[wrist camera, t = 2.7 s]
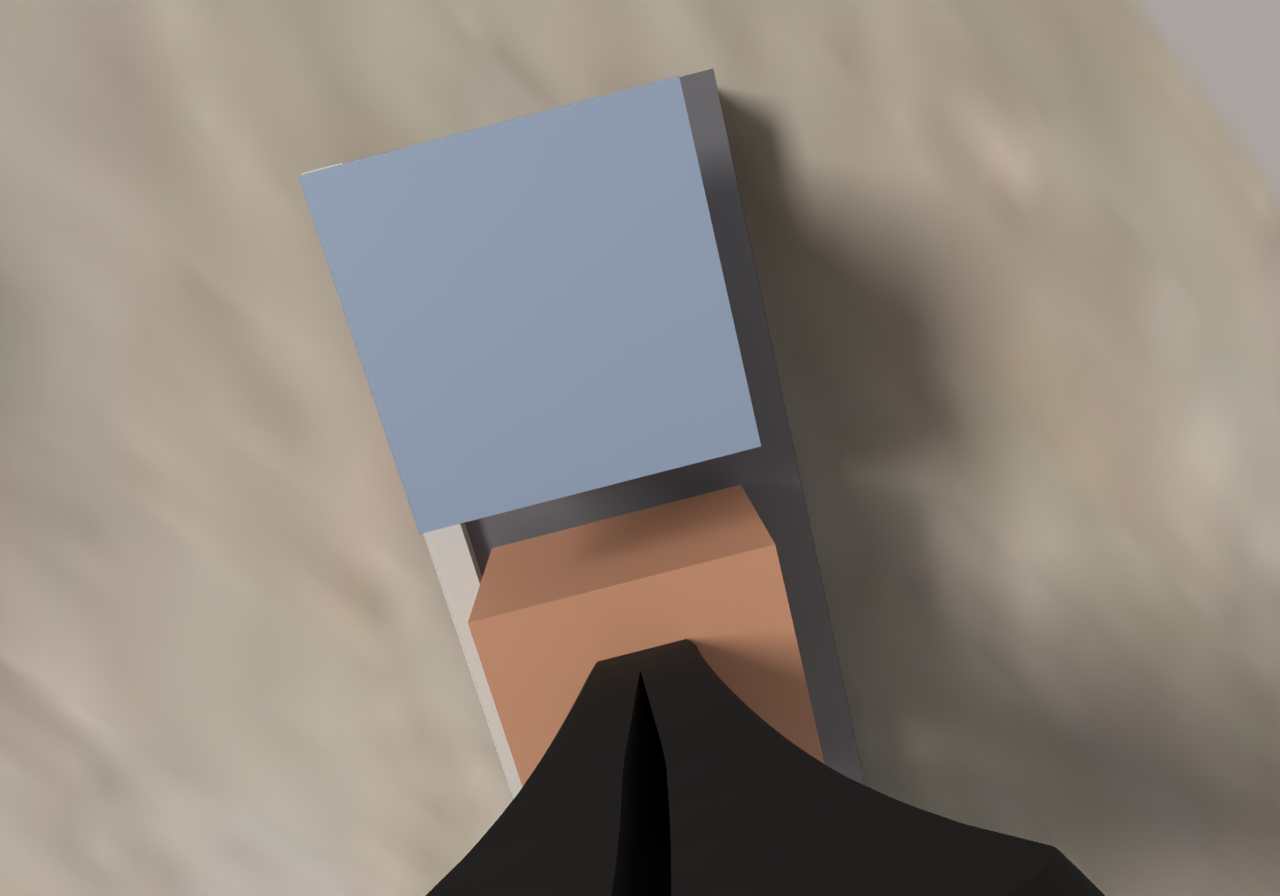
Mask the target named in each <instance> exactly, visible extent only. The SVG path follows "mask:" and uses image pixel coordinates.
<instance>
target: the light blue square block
mask: <svg viewBox="0 0 1280 896" xmlns="http://www.w3.org/2000/svg"><path fill="white" fill-rule="evenodd" d="M298 178H299V181H300V184H301V187H302V190H303V192H304V195H305V198H306V201H307V204H308V207H309V210H310V213H311V216H312V219H313V222H314V225H315V228H316V231H317V234H318V237H319V240H320V242H321V245H322V248H323V251H324V254H325V257H326V260H327V263H328V266H329V269H330V272H331V275H332V278H333V281H334V284H335V287H336V290H337V292H338V295H339V298H340V301H341V304H342V307H343V310H344V313H345V316H346V319H347V322H348V325H349V328H350V331H351V334H352V337H353V340H354V343H355V345H356V348H357V351H358V354H359V357H360V360H361V363H362V366H363V369H364V372H365V375H366V378H367V381H368V384H369V387H370V390H371V393H372V395H373V398H374V401H375V404H376V407H377V410H378V413H379V416H380V419H381V422H382V425H383V428H384V431H385V434H386V437H387V440H388V443H389V446H390V448H391V451H392V454H393V457H394V460H395V463H396V466H397V469H398V472H399V475H400V478H401V481H402V484H403V487H404V490H405V493H406V496H407V498H408V501H409V504H410V507H411V510H412V513H413V516H414V519H415V522H416V525H417V528H418V531H419V534H422V533H426V532H430V531H434V530H437V529H441V528H445V527H449V526H453V525H457V524H461V523H465V522H469V521H472V520H476V519H480V518H484V517H488V516H492V515H496V514H500V513H504V512H508V511H511V510H515V509H519V508H523V507H527V506H531V505H535V504H539V503H543V502H546V501H550V500H554V499H558V498H562V497H566V496H570V495H574V494H578V493H582V492H585V491H589V490H593V489H597V488H601V487H605V486H609V485H613V484H617V483H620V482H624V481H628V480H632V479H636V478H640V477H644V476H648V475H652V474H656V473H659V472H663V471H667V470H671V469H675V468H679V467H683V466H687V465H691V464H694V463H698V462H702V461H706V460H710V459H714V458H718V457H722V456H726V455H730V454H733V453H737V452H741V451H745V450H749V449H753V448H757V447H761V443H760V439H759V434H758V430H757V425H756V421H755V416H754V412H753V407H752V402H751V398H750V393H749V389H748V384H747V380H746V375H745V371H744V366H743V362H742V357H741V353H740V348H739V344H738V339H737V335H736V330H735V326H734V321H733V317H732V312H731V308H730V303H729V299H728V294H727V290H726V285H725V281H724V276H723V272H722V267H721V263H720V258H719V254H718V249H717V245H716V240H715V236H714V231H713V227H712V222H711V218H710V213H709V209H708V204H707V200H706V195H705V191H704V186H703V182H702V177H701V173H700V168H699V163H698V159H697V154H696V150H695V145H694V141H693V136H692V132H691V127H690V123H689V118H688V114H687V109H686V105H685V100H684V96H683V91H682V87H681V82H680V78H679V76H676V77H672V78H668V79H665V80H661V81H657V82H653V83H649V84H646V85H642V86H638V87H634V88H630V89H627V90H623V91H619V92H615V93H611V94H607V95H604V96H600V97H596V98H592V99H588V100H585V101H581V102H577V103H573V104H569V105H566V106H562V107H558V108H554V109H550V110H547V111H543V112H539V113H535V114H531V115H527V116H524V117H520V118H516V119H512V120H508V121H505V122H501V123H497V124H493V125H489V126H486V127H482V128H478V129H474V130H470V131H466V132H463V133H459V134H455V135H451V136H447V137H444V138H440V139H436V140H432V141H428V142H425V143H421V144H417V145H413V146H409V147H405V148H402V149H398V150H394V151H390V152H386V153H383V154H379V155H375V156H371V157H367V158H364V159H360V160H356V161H352V162H348V163H345V164H341V165H337V166H333V167H329V168H325V169H322V170H318V171H314V172H310V173H306V174H303V175H299V176H298Z"/></svg>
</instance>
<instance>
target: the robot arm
mask: <svg viewBox="0 0 1280 896" xmlns="http://www.w3.org/2000/svg"><path fill="white" fill-rule="evenodd" d="M426 896H1105V895H1104V894H1103V893H1102V892H1101V891H1100V890H1099V889H1098V888H1097V887H1096V886H1095V885H1094V884H1093V883H1092V882H1091V881H1090V880H1089V879H1088V878H1087V877H1086V876H1085V875H1084V874H1083V873H1082V872H1081V871H1080V870H1079V869H1078V868H1077V867H1076V866H1075V865H1074V864H1073V863H1072V862H1071V861H1070V860H1068V859H1067V858H1066V857H1065V856H1064V855H1063V854H1062V853H1061V852H1060V851H1059V850H1058V849H1057V848H1055V847H1053V846H1050V845H1046V844H1042V843H1038V842H1034V841H1030V840H1026V839H1021V838H1017V837H1013V836H1009V835H1005V834H1001V833H997V832H993V831H989V830H985V829H981V828H977V827H973V826H969V825H966V824H962V823H959V822H956V821H953V820H950V819H947V818H944V817H942V816H939V815H936V814H933V813H930V812H927V811H924V810H921V809H918V808H916V807H913V806H910V805H908V804H905V803H903V802H900V801H898V800H895V799H893V798H891V797H888V796H886V795H884V794H882V793H880V792H878V791H875V790H873V789H871V788H869V787H867V786H865V785H863V784H861V783H858V782H856V781H854V780H852V779H850V778H848V777H846V776H844V775H843V774H841V773H839V772H837V771H835V770H834V769H832V768H830V767H829V766H827V765H825V764H824V763H822V762H821V761H819V760H817V759H816V758H814V757H813V756H811V755H810V754H808V753H806V752H805V751H804V750H802V749H801V748H799V747H798V746H796V745H795V744H794V743H792V742H791V741H790V740H788V739H787V738H785V737H784V736H783V735H782V734H780V733H779V732H778V731H777V730H775V729H774V728H773V727H772V726H770V725H769V724H768V723H767V722H765V721H764V720H763V719H762V718H761V717H759V716H758V715H757V714H756V713H755V712H754V711H753V710H751V709H750V708H749V707H748V706H747V705H746V704H745V703H744V702H743V701H742V700H741V699H740V698H739V697H738V696H737V695H736V694H735V693H734V692H733V691H732V690H731V689H730V688H729V687H728V686H727V685H726V684H725V683H724V682H723V681H722V680H721V679H720V678H719V677H718V675H717V674H716V673H715V672H714V671H713V670H712V668H711V667H710V666H709V665H708V663H707V662H706V661H705V659H704V658H703V657H702V655H701V653H700V652H699V650H698V648H697V646H696V644H694V643H692V642H691V641H689V640H687V639H684V640H680V641H676V642H672V643H668V644H664V645H660V646H657V647H653V648H649V649H645V650H641V651H637V652H633V653H629V654H625V655H621V656H617V657H614V658H610V659H606V660H602V661H598V662H597V663H596V664H595V666H594V667H593V669H592V671H591V672H590V674H589V676H588V678H587V680H586V682H585V683H584V685H583V687H582V689H581V691H580V693H579V695H578V697H577V699H576V701H575V702H574V704H573V706H572V708H571V710H570V712H569V713H568V715H567V717H566V719H565V721H564V722H563V724H562V726H561V727H560V729H559V731H558V732H557V734H556V736H555V738H554V739H553V741H552V743H551V744H550V746H549V748H548V749H547V751H546V753H545V754H544V756H543V757H542V759H541V761H540V762H539V763H538V765H537V766H536V768H535V769H534V771H533V772H532V774H531V775H530V777H529V778H528V780H527V781H526V783H525V784H524V786H523V787H522V789H521V790H520V791H519V793H518V794H517V795H516V797H515V798H514V799H513V801H512V802H511V803H510V805H509V806H508V807H507V808H506V810H505V811H504V812H503V814H502V815H501V816H500V817H499V819H498V820H497V821H496V822H495V823H494V824H493V826H492V827H491V828H490V829H489V830H488V831H487V833H486V834H485V835H484V836H483V837H482V838H481V840H480V841H479V842H478V843H477V844H476V845H475V846H474V848H473V849H472V850H471V851H470V852H469V853H468V854H467V855H466V856H465V857H464V858H463V859H462V860H461V861H460V862H459V863H458V864H457V865H456V866H455V867H454V868H453V869H452V870H451V871H450V872H449V873H448V874H447V875H446V876H445V877H444V878H443V879H442V880H441V881H440V882H439V883H438V884H437V885H436V886H435V887H434V888H433V889H432V890H431V891H430V892H429V893H428V894H427V895H426Z"/></svg>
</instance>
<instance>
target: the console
mask: <svg viewBox="0 0 1280 896" xmlns="http://www.w3.org/2000/svg"><path fill="white" fill-rule="evenodd" d="M679 78H680V82H681V87H682V91H683V96H684V100H685V105H686V109H687V114H688V118H689V123H690V127H691V132H692V136H693V141H694V145H695V150H696V154H697V159H698V163H699V168H700V173H701V177H702V182H703V186H704V191H705V195H706V200H707V204H708V209H709V213H710V218H711V222H712V227H713V231H714V236H715V240H716V245H717V249H718V254H719V258H720V263H721V267H722V272H723V276H724V281H725V285H726V290H727V294H728V299H729V303H730V308H731V312H732V317H733V321H734V326H735V330H736V335H737V339H738V344H739V348H740V353H741V357H742V362H743V366H744V371H745V375H746V380H747V384H748V389H749V393H750V398H751V402H752V407H753V412H754V416H755V421H756V425H757V430H758V434H759V439H760V443H761V447H757V448H753V449H749V450H745V451H741V452H737V453H733V454H730V455H726V456H722V457H718V458H714V459H710V460H706V461H702V462H698V463H694V464H691V465H687V466H683V467H679V468H675V469H671V470H667V471H663V472H659V473H656V474H652V475H648V476H644V477H640V478H636V479H632V480H628V481H624V482H620V483H617V484H613V485H609V486H605V487H601V488H597V489H593V490H589V491H585V492H582V493H578V494H574V495H570V496H566V497H562V498H558V499H554V500H550V501H546V502H543V503H539V504H535V505H531V506H527V507H523V508H519V509H515V510H511V511H508V512H504V513H500V514H496V515H492V516H488V517H484V518H480V519H476V520H472V521H469V522H465V523H461V524H457V525H453V526H449V527H445V528H441V529H437V530H434V531H430V532H426V533H423V534H424V537H425V540H426V543H427V546H428V549H429V552H430V555H431V558H432V561H433V564H434V567H435V569H436V572H437V575H438V578H439V581H440V584H441V587H442V590H443V593H444V596H445V599H446V602H447V605H448V608H449V611H450V614H451V617H452V620H453V623H454V626H455V629H456V631H457V634H458V637H459V640H460V643H461V646H462V649H463V652H464V655H465V658H466V661H467V664H468V667H469V670H470V673H471V676H472V679H473V682H474V685H475V688H476V691H477V694H478V696H479V699H480V702H481V705H482V708H483V711H484V714H485V717H486V720H487V723H488V726H489V729H490V732H491V735H492V738H493V741H494V744H495V747H496V750H497V753H498V756H499V758H500V761H501V764H502V767H503V770H504V773H505V776H506V779H507V782H508V785H509V788H510V791H511V794H512V797H513V799H514V798H515V797H516V795H517V794H518V793H519V791H520V790H521V789H522V784H521V781H520V778H519V775H518V772H517V769H516V766H515V763H514V760H513V757H512V754H511V751H510V748H509V745H508V742H507V739H506V736H505V733H504V730H503V727H502V724H501V721H500V718H499V715H498V712H497V709H496V706H495V703H494V700H493V697H492V694H491V691H490V688H489V685H488V682H487V679H486V676H485V673H484V670H483V667H482V664H481V661H480V658H479V655H478V652H477V649H476V646H475V643H474V640H473V637H472V634H471V631H470V628H469V625H468V620H469V617H470V614H471V611H472V608H473V605H474V602H475V599H476V596H477V593H478V590H479V586H480V583H481V580H482V577H483V574H484V571H485V568H486V565H487V562H488V559H489V556H490V553H491V549H492V548H495V547H499V546H503V545H507V544H511V543H515V542H518V541H522V540H526V539H530V538H534V537H538V536H542V535H546V534H550V533H554V532H557V531H561V530H565V529H569V528H573V527H577V526H581V525H585V524H589V523H593V522H596V521H600V520H604V519H608V518H612V517H616V516H620V515H624V514H628V513H632V512H635V511H639V510H643V509H647V508H651V507H655V506H659V505H663V504H667V503H671V502H675V501H678V500H682V499H686V498H690V497H694V496H698V495H702V494H706V493H710V492H714V491H717V490H721V489H725V488H729V487H733V486H737V485H741V486H742V488H743V489H744V491H745V493H746V495H747V496H748V498H749V500H750V501H751V503H752V505H753V507H754V508H755V510H756V512H757V514H758V515H759V517H760V519H761V521H762V522H763V524H764V526H765V527H766V529H767V531H768V533H769V534H770V536H771V538H772V540H773V541H774V543H775V545H776V550H777V554H778V559H779V563H780V568H781V572H782V577H783V581H784V586H785V590H786V594H787V599H788V603H789V608H790V612H791V617H792V621H793V626H794V630H795V635H796V639H797V643H798V648H799V652H800V657H801V661H802V666H803V670H804V675H805V679H806V684H807V688H808V693H809V697H810V701H811V706H812V710H813V715H814V719H815V724H816V728H817V733H818V737H819V742H820V746H821V750H822V755H823V759H824V764H825V765H827V766H829V767H830V768H832V769H834V770H835V771H837V772H839V773H841V774H843V775H844V776H846V777H848V778H850V779H852V780H854V781H856V782H858V783H861V784H863V785H865V784H864V779H863V775H862V770H861V765H860V760H859V756H858V751H857V746H856V741H855V737H854V732H853V727H852V723H851V718H850V713H849V708H848V704H847V699H846V694H845V690H844V685H843V680H842V675H841V671H840V666H839V661H838V656H837V652H836V647H835V642H834V638H833V633H832V628H831V623H830V619H829V614H828V609H827V604H826V600H825V595H824V590H823V586H822V581H821V576H820V571H819V567H818V562H817V557H816V553H815V548H814V543H813V538H812V534H811V529H810V524H809V519H808V515H807V510H806V505H805V501H804V496H803V491H802V486H801V482H800V477H799V472H798V467H797V463H796V458H795V453H794V449H793V444H792V439H791V434H790V430H789V425H788V420H787V415H786V411H785V406H784V401H783V397H782V392H781V387H780V382H779V378H778V373H777V368H776V364H775V359H774V354H773V349H772V345H771V340H770V335H769V330H768V326H767V321H766V316H765V312H764V307H763V302H762V297H761V293H760V288H759V283H758V278H757V274H756V269H755V264H754V260H753V255H752V250H751V245H750V241H749V236H748V231H747V227H746V222H745V217H744V212H743V208H742V203H741V198H740V193H739V189H738V184H737V179H736V175H735V170H734V165H733V160H732V156H731V151H730V146H729V141H728V137H727V132H726V127H725V123H724V118H723V113H722V108H721V104H720V99H719V94H718V89H717V85H716V80H715V75H714V71H713V69H710V70H706V71H702V72H698V73H695V74H691V75H687V76H683V77H679ZM341 164H345V163H339V164H335V165H332V166H328V167H324V168H320V169H316V170H313V171H309V172H305V173H301V174H302V175H303V174H306V173H310V172H314V171H318V170H322V169H325V168H329V167H333V166H337V165H341Z"/></svg>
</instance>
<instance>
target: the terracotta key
mask: <svg viewBox="0 0 1280 896" xmlns="http://www.w3.org/2000/svg"><path fill="white" fill-rule="evenodd" d="M468 625H469V628H470V631H471V634H472V637H473V640H474V643H475V646H476V649H477V652H478V655H479V658H480V661H481V664H482V667H483V670H484V673H485V676H486V679H487V682H488V685H489V688H490V691H491V694H492V697H493V700H494V703H495V706H496V709H497V712H498V715H499V718H500V721H501V724H502V727H503V730H504V733H505V736H506V739H507V742H508V745H509V748H510V751H511V754H512V757H513V760H514V763H515V766H516V769H517V772H518V775H519V778H520V781H521V784H522V787H523V786H524V784H525V783H526V781H527V780H528V778H529V777H530V775H531V774H532V772H533V771H534V769H535V768H536V766H537V765H538V763H539V762H540V761H541V759H542V757H543V756H544V754H545V753H546V751H547V749H548V748H549V746H550V744H551V743H552V741H553V739H554V738H555V736H556V734H557V732H558V731H559V729H560V727H561V726H562V724H563V722H564V721H565V719H566V717H567V715H568V713H569V712H570V710H571V708H572V706H573V704H574V702H575V701H576V699H577V697H578V695H579V693H580V691H581V689H582V687H583V685H584V683H585V682H586V680H587V678H588V676H589V674H590V672H591V671H592V669H593V667H594V666H595V664H596V663H597V662H598V661H602V660H606V659H610V658H614V657H617V656H621V655H625V654H629V653H633V652H637V651H641V650H645V649H649V648H653V647H657V646H660V645H664V644H668V643H672V642H676V641H680V640H684V639H687V640H689V641H691V642H692V643H694V644H696V646H697V648H698V650H699V652H700V653H701V655H702V657H703V658H704V659H705V661H706V662H707V663H708V665H709V666H710V667H711V668H712V670H713V671H714V672H715V673H716V674H717V675H718V677H719V678H720V679H721V680H722V681H723V682H724V683H725V684H726V685H727V686H728V687H729V688H730V689H731V690H732V691H733V692H734V693H735V694H736V695H737V696H738V697H739V698H740V699H741V700H742V701H743V702H744V703H745V704H746V705H747V706H748V707H749V708H750V709H751V710H753V711H754V712H755V713H756V714H757V715H758V716H759V717H761V718H762V719H763V720H764V721H765V722H767V723H768V724H769V725H770V726H772V727H773V728H774V729H775V730H777V731H778V732H779V733H780V734H782V735H783V736H784V737H785V738H787V739H788V740H790V741H791V742H792V743H794V744H795V745H796V746H798V747H799V748H801V749H802V750H804V751H805V752H806V753H808V754H810V755H811V756H813V757H814V758H816V759H817V760H819V761H821V762H822V763H824V759H823V755H822V750H821V746H820V742H819V737H818V733H817V728H816V724H815V719H814V715H813V710H812V706H811V701H810V697H809V693H808V688H807V684H806V679H805V675H804V670H803V666H802V661H801V657H800V652H799V648H798V643H797V639H796V635H795V630H794V626H793V621H792V617H791V612H790V608H789V603H788V599H787V594H786V590H785V586H784V581H783V577H782V572H781V568H780V563H779V559H778V554H777V550H776V545H775V543H774V541H773V540H772V538H771V536H770V534H769V533H768V531H767V529H766V527H765V526H764V524H763V522H762V521H761V519H760V517H759V515H758V514H757V512H756V510H755V508H754V507H753V505H752V503H751V501H750V500H749V498H748V496H747V495H746V493H745V491H744V489H743V488H742V486H741V485H737V486H733V487H729V488H725V489H721V490H717V491H714V492H710V493H706V494H702V495H698V496H694V497H690V498H686V499H682V500H678V501H675V502H671V503H667V504H663V505H659V506H655V507H651V508H647V509H643V510H639V511H635V512H632V513H628V514H624V515H620V516H616V517H612V518H608V519H604V520H600V521H596V522H593V523H589V524H585V525H581V526H577V527H573V528H569V529H565V530H561V531H557V532H554V533H550V534H546V535H542V536H538V537H534V538H530V539H526V540H522V541H518V542H515V543H511V544H507V545H503V546H499V547H495V548H492V549H491V553H490V556H489V559H488V562H487V565H486V568H485V571H484V574H483V577H482V580H481V583H480V586H479V590H478V593H477V596H476V599H475V602H474V605H473V608H472V611H471V614H470V617H469V620H468Z"/></svg>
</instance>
